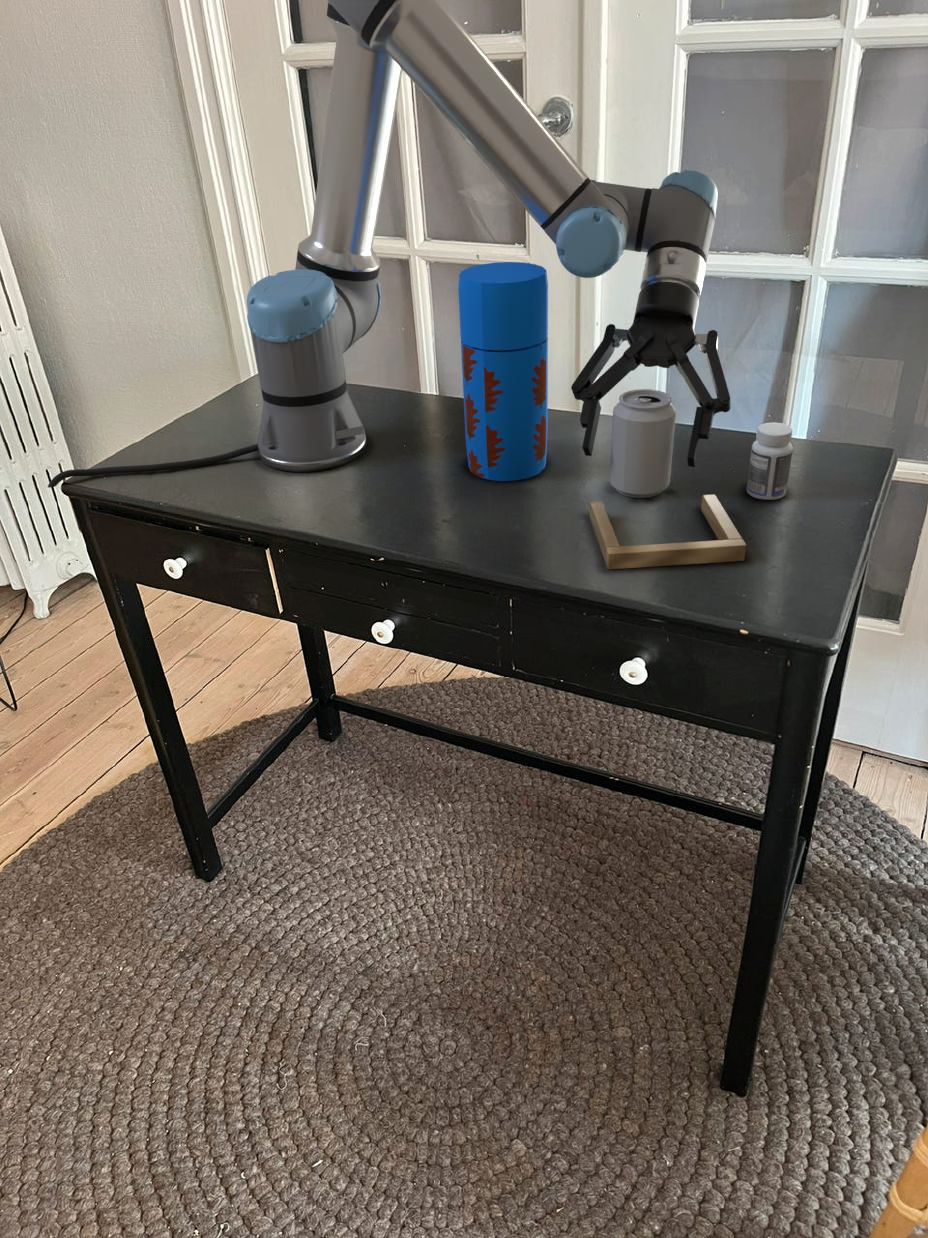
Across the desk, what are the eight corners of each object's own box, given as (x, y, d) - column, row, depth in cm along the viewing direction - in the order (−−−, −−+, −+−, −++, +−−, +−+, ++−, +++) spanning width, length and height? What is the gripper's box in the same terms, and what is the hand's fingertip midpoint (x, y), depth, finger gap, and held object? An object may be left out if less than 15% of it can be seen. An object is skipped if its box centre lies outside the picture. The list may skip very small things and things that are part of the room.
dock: (607, 569, 100) (608, 553, 99) (589, 516, 110) (589, 501, 109) (744, 561, 100) (746, 545, 99) (713, 509, 111) (714, 494, 110)
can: (680, 484, 116) (689, 393, 110) (648, 506, 112) (655, 412, 105) (630, 470, 121) (635, 381, 114) (597, 490, 116) (601, 399, 110)
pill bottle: (781, 484, 115) (791, 420, 111) (789, 501, 111) (799, 435, 107) (743, 484, 116) (751, 420, 111) (748, 500, 112) (757, 436, 107)
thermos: (528, 443, 130) (526, 257, 116) (560, 472, 121) (563, 275, 107) (456, 457, 127) (445, 268, 113) (483, 487, 118) (476, 288, 104)
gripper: (570, 274, 115) (535, 435, 112) (771, 282, 107) (740, 455, 104) (579, 306, 122) (547, 458, 119) (769, 315, 114) (740, 478, 111)
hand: (637, 457), depth 111 cm, fingers open, 12 cm apart
